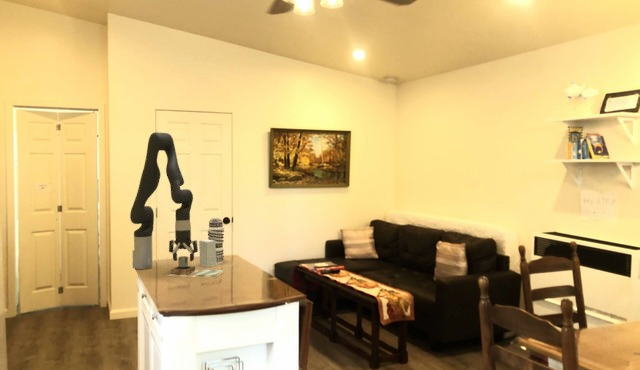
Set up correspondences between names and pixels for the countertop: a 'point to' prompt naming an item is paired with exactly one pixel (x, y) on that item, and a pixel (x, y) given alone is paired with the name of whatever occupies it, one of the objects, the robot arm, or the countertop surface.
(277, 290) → the countertop surface
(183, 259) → the end cover
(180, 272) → the caddy
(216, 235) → the decorative candle
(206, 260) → the skincare box
